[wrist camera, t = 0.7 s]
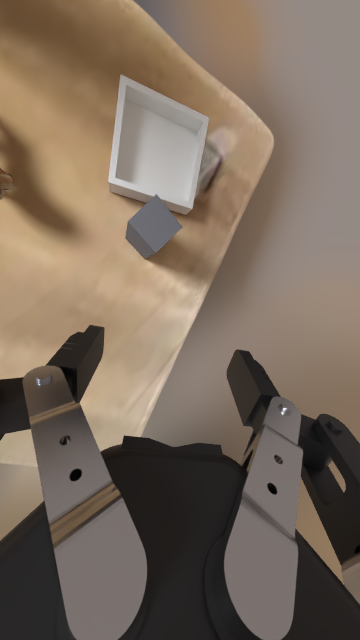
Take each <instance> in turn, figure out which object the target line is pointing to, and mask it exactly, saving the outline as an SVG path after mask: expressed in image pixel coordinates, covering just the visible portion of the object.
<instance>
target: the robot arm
mask: <svg viewBox="0 0 360 640" xmlns="http://www.w3.org/2000/svg"><path fill="white" fill-rule="evenodd" d="M103 347H104V327H100V326H94V325H90V326H89V327H88V328H87V329H86V331H85V332H84V333H82V332H77V333H75V334H74V335H72V336H70V337H69V338H68V340H67V341H66V342H65V343H64V344H63V345H62V347H61V348H60V349H59V350H58V351H57V353H56V354H55V355H54V356H53V357H52V358H51V360H50V361H49V362H48V363H47V364H46V365H45V366H41V367H37V368H35V369H33V370H31V371H29V372H28V373H27V374H26V375H25V376H24V377H22V378H13V379H2V380H0V440H1V439H2V437H3V436H4V435H5V434H6V433H11V432H16V431H22V430H27V429H31V432H32V437H33V443H34V448H35V454H36V459H37V464H38V470H39V475H40V480H41V485H42V491H43V497H44V501H43V502H42V503H41V504H40V505H39V506H38V507H37V508H36V509H35V510H33V511H32V512H31V513H30V514H29V515H28V516H27V517H26V518H25V519H24V520H23V521H21V522H20V523H19V524H18V525H17V526H16V527H15V528H14V529H13V530H12V531H11V532H9V533H8V534H7V535H6V536H5V537H4V538H3V539H2V540H1V541H0V640H360V443H359V442H358V441H357V440H356V438H355V437H354V436H353V435H352V433H351V432H350V431H349V429H348V428H347V427H346V426H345V425H344V424H343V423H342V422H340V421H339V420H338V419H336V418H334V417H332V416H330V415H327V414H320V415H319V416H318V417H317V419H316V420H315V419H312V418H310V417H307V416H304V415H302V414H301V413H300V411H299V409H298V408H297V407H296V406H295V405H294V404H293V403H292V402H291V401H289V400H287V399H285V398H283V397H281V396H280V395H279V393H278V391H277V390H276V388H275V387H274V385H273V383H272V381H271V380H270V379H269V377H268V375H267V374H266V372H265V370H264V368H263V367H262V366H261V365H260V364H259V363H258V362H257V361H256V360H254V359H253V357H252V355H251V354H250V352H249V351H244V350H236V351H235V352H234V355H233V357H232V359H231V361H230V364H229V366H228V369H227V379H228V382H229V385H230V388H231V391H232V394H233V397H234V399H235V402H236V406H237V408H238V411H239V414H240V417H241V420H242V423H243V426H250V427H252V428H253V431H252V433H251V435H250V437H249V440H248V442H247V445H246V448H245V450H244V452H243V455H242V457H241V460H240V462H239V464H238V463H237V462H236V461H235V460H233V459H232V458H230V457H228V456H226V455H223V454H222V449H221V445H214V444H204V443H196V444H190V445H184V446H180V447H171V446H169V445H166V444H163V443H161V442H158V441H155V440H152V439H150V438H142V437H132V436H124V438H123V443H122V444H120V445H116V446H112V447H109V448H107V449H105V450H103V451H101V452H100V451H99V448H98V446H97V443H96V441H95V439H94V436H93V434H92V431H91V429H90V427H89V424H88V422H87V419H86V417H85V415H84V412H83V410H82V407H81V405H80V401H81V399H82V397H83V395H84V393H85V391H86V389H87V387H88V385H89V382H90V380H91V378H92V376H93V374H94V372H95V370H96V368H97V366H98V364H99V362H100V360H101V358H102V354H103ZM332 461H333V462H334V463H335V465H336V466H337V468H338V470H339V471H340V473H341V475H342V476H343V478H344V480H345V484H346V490H345V492H344V493H343V491H342V489H341V488H340V486H339V484H338V482H337V481H336V479H335V478H334V475H333V474H332V472H331V471H330V469H329V467H328V465H329V464H330V463H331V462H332ZM300 477H301V478H302V480H303V482H304V484H305V486H306V489H307V491H308V493H309V496H310V498H311V499H312V502H313V504H314V507H315V509H316V511H317V513H318V515H319V518H320V520H321V522H322V524H323V527H324V529H325V530H326V533H327V535H328V538H329V540H330V542H331V544H332V546H333V549H334V551H335V553H336V555H337V558H338V560H339V562H340V564H341V566H342V570H341V572H342V578H343V582H344V585H343V584H342V582H341V581H340V580H339V579H338V578H337V576H336V575H335V574H334V573H333V572H332V571H331V570H330V568H329V567H328V566H327V565H326V564H325V562H324V561H323V560H322V559H321V558H320V557H319V555H318V554H317V553H316V552H315V551H314V550H313V548H312V547H311V546H310V545H309V544H308V542H307V541H306V540H305V539H304V538H303V537H302V535H301V534H300V533H299V532H298V531H297V530H296V528H295V526H296V517H297V506H298V497H299V487H300Z"/></svg>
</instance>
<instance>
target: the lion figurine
mask: <svg viewBox="0 0 360 640" xmlns="http://www.w3.org/2000/svg"><path fill="white" fill-rule="evenodd" d="M12 184H13V178H12V177H11V176H10V175H9V174H7V173H6V172H5V171H3V170H1V168H0V200H1V199H2V198H3V196H4V192H5V190H9V189H12Z"/></svg>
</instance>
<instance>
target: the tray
mask: <svg viewBox="0 0 360 640" xmlns="http://www.w3.org/2000/svg"><path fill="white" fill-rule="evenodd" d="M208 122H209V117H207V116H205V115H203V114H201V113H199V112H197V111H195V110H193V109H191V108H189V107H187V106H185V105H183V104H181V103H178V102H176V101H174V100H172V99H170V98H168V97H166V96H164V95H162V94H160V93H158V92H156V91H154V90H152V89H150V88H148V87H146V86H144V85H142V84H140V83H138V82H136V81H134V80H132V79H130V78H128V77H125V76H123V75H121V74H120V83H119V92H118V101H117V110H116V119H115V127H114V136H113V145H112V154H111V163H110V172H109V180H108V183H109V191H110V192H113V193H116V194H119V195H123V196H126V197H129V198H132V199H136V200H139V201H142V202H145V203H148V202H149V201H150V200H151V199H152V198H153V197H154V196H155V195H156V194H157V195H158V196H159V198H160V199H161V200H162V201H163V203H164V204H165V205H166V207H167V208H168V209H169V210H171V211H174V212H178V213H181V214H184V215H186V214H187V213H188V212H190V211H191V210H192V208H193V203H194V198H195V192H196V187H197V182H198V176H199V171H200V165H201V160H202V155H203V149H204V144H205V139H206V133H207V128H208Z"/></svg>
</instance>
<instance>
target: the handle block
mask: <svg viewBox="0 0 360 640" xmlns="http://www.w3.org/2000/svg"><path fill="white" fill-rule="evenodd" d="M181 228H182V226H181V225H180V223H179V222H178V221H177V219H176V218H175V217H174V216H173V214H172V213H171V212H170V210H169V209H168V208H167V207H166V205H165V204H164V203H163V201H162V200H161V199H160V198H159V196H158V195H157V194H156V195H155V196H154V197H153V198H152V199H151V200H150V201H149V202H148V203H147V204H145V205H144V206H143V207H142V208H141V209H140V210H139V211H138V212H137V213H136V214H135V215H134V216H133V217H132V218H131V219H130V220H129V221H128V225H127V231H126V239H127V240H128V242H129V243H130V244H131V245H132V246H133V247H134V248H135V249H136V250H137V251H138V252H139V254H140V255H141V256H142V257H143V258H144V259H145V258H147V257H149V256H151V255H153V254H155V253H157V252H158V251H159V250H160V249H161V248H162V247H163V246H164V245H165V244H166V243H167V242H168V241H169V240H170V239H171V238H172V237H173V236H174V235H175V234H176V233H177V232H178V231H179V230H180V229H181Z"/></svg>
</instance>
